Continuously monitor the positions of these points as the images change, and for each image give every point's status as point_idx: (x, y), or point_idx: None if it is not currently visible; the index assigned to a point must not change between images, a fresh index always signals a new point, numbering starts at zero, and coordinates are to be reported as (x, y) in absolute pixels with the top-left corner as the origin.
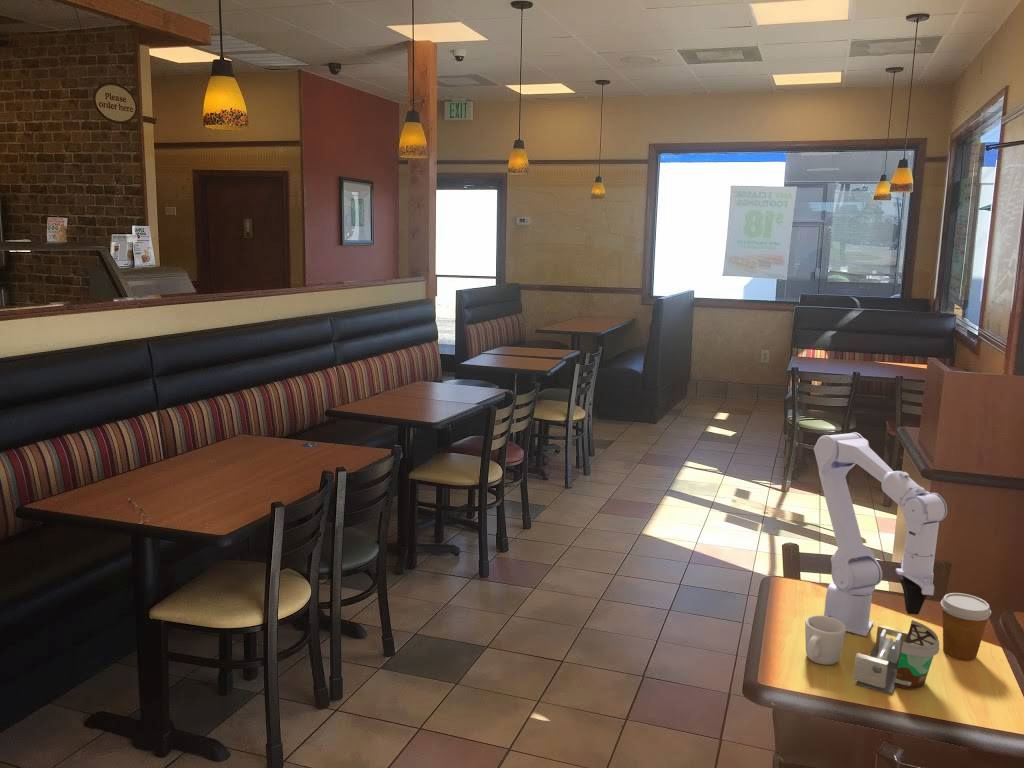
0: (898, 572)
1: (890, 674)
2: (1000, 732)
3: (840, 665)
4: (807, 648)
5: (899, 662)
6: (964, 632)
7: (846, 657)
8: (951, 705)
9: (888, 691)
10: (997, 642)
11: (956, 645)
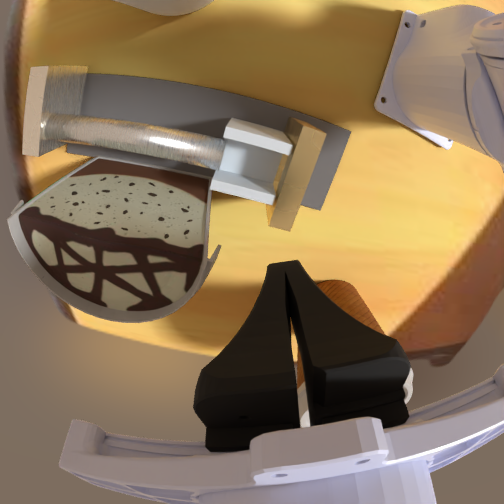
0: (259, 460)
1: None
2: (65, 307)
3: (162, 24)
4: None
5: (54, 184)
6: (298, 358)
7: (218, 35)
8: None
9: (69, 144)
10: None
11: None
